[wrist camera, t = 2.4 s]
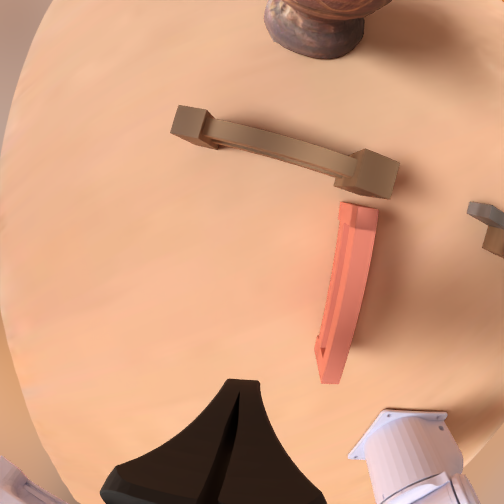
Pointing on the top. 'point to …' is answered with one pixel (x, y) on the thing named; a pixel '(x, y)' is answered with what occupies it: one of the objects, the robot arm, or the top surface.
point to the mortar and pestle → (319, 24)
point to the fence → (319, 162)
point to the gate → (345, 289)
